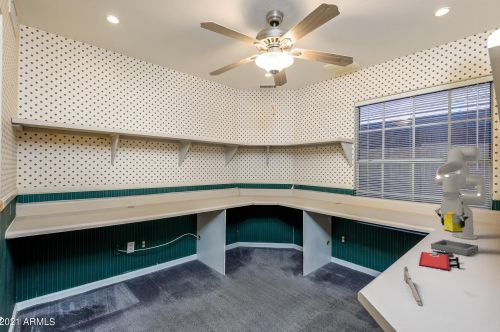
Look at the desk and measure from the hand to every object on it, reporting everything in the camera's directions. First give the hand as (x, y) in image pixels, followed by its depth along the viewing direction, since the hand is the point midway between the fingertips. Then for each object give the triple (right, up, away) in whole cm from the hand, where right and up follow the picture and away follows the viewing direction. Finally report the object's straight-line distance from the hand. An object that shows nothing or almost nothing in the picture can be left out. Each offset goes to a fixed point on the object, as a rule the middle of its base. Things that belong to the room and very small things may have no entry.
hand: (453, 226), depth 136 cm
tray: (0, -13, -1) cm, 13 cm away
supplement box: (0, -3, 0) cm, 3 cm away
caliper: (-56, -12, -48) cm, 75 cm away
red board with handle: (-21, -14, -16) cm, 30 cm away
